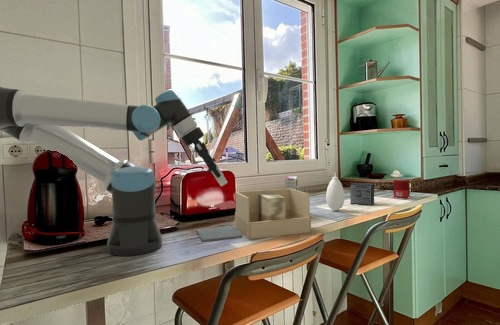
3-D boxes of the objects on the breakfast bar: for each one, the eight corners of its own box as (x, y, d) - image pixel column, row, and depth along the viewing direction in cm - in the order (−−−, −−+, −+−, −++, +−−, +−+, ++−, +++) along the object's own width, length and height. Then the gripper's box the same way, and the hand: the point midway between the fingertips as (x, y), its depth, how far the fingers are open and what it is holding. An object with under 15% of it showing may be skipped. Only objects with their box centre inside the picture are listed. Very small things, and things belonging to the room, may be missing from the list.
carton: (248, 239, 95) (248, 198, 94) (235, 227, 110) (234, 191, 109) (311, 232, 102) (311, 194, 101) (290, 221, 117) (290, 188, 116)
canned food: (412, 199, 164) (412, 179, 164) (397, 199, 164) (397, 179, 164) (405, 196, 172) (405, 177, 171) (391, 196, 172) (391, 177, 172)
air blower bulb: (337, 208, 141) (337, 170, 140) (347, 211, 134) (347, 171, 133) (323, 209, 139) (322, 171, 138) (332, 213, 131) (332, 172, 130)
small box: (374, 204, 151) (374, 183, 151) (372, 206, 146) (372, 184, 146) (353, 202, 157) (353, 182, 157) (350, 204, 152) (350, 183, 151)
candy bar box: (287, 212, 134) (287, 175, 134) (298, 212, 133) (298, 175, 133) (285, 217, 123) (285, 178, 123) (297, 218, 122) (297, 178, 122)
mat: (202, 241, 93) (202, 239, 93) (196, 230, 105) (196, 229, 105) (242, 237, 97) (242, 235, 97) (232, 227, 109) (232, 225, 109)
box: (269, 234, 100) (268, 198, 100) (258, 226, 110) (258, 194, 109) (285, 232, 102) (285, 197, 102) (274, 225, 112) (273, 193, 111)
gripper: (198, 125, 93) (235, 181, 97) (198, 125, 117) (227, 170, 121) (178, 139, 92) (216, 194, 96) (181, 136, 117) (212, 180, 121)
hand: (222, 180), depth 109 cm, fingers open, 13 cm apart
